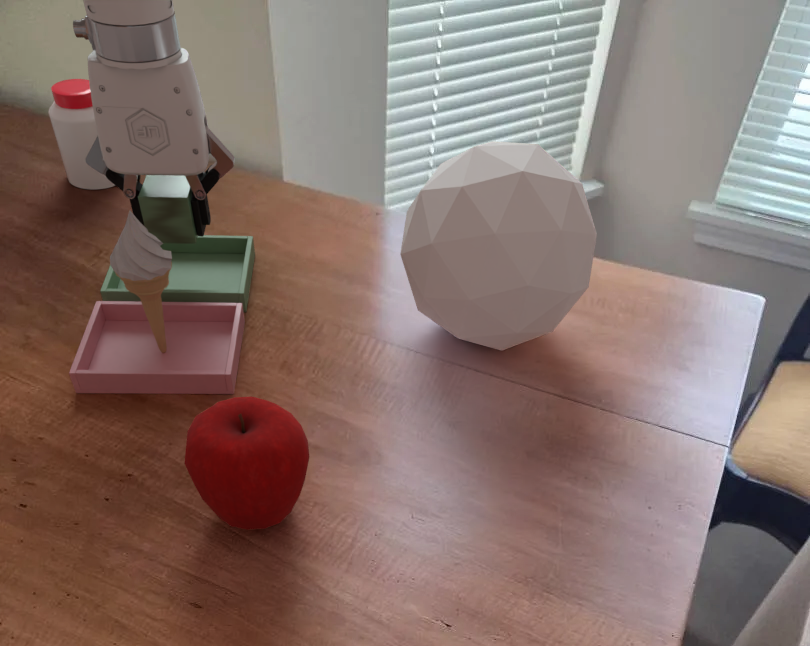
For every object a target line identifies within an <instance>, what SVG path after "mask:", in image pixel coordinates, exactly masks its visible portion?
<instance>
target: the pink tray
mask: <svg viewBox="0 0 810 646" xmlns="http://www.w3.org/2000/svg"><path fill="white" fill-rule="evenodd" d="M162 308H163V317H164V327H165V338H166V345H167V350H166V352H165V353H162V352H161V351H160V349H159V347H158V345H157V342H156V339H155V336H154V334H153V332H152V329H151V326H150V324H149V321H148V319H147V316H146V314H145V311H144V308H143V305H142V303H141V302H134V301H103V300H96V301H95V304H94V306H93V309H92V311H91V314H90V316H89V319H88V321H87V324H86V327H85V330H84V333H83V335H82V337H81V340H80V343H79V345H78V348H77V350H76V353H75V356H74V359H73V361H72V364H71V367H70V370H69V372H68V375H69V377H70V380H71V384H72V386H73V388H74V389H73V390H74V392H75V394H143V395H144V394H145V395H146V394H149V395H150V394H151V395H152V394H153V395H154V394H156V395H157V394H158V395H159V394H161V395H162V394H165V395H171V394H172V395H174V394H175V395H183V394H185V395H234V394H235V389H236V382H237V376H238V370H239V364H240V357H241V351H242V345H243V337H244V332H245V331H244V330H245V323H246V321H245V312H243V305H242V303H208V302H162Z"/></svg>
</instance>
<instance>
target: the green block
mask: <svg viewBox="0 0 810 646" xmlns="http://www.w3.org/2000/svg"><path fill="white" fill-rule="evenodd" d="M191 198H192V190H191V188H190V186H189V183H188V181H187V179H186V177H185V176H174V175H145V177H144V180H143V183H142V188H141V190H140V193H139V196H138V200H139V204H140V209H141V213H142V217H143V221H144V225H145V227H146V228H147V230H148V232H149V233H151V234H153V235H154V236H156V237H157V238H158V239H159V240H160V241H161V242H162V243H170V244H196V242H197V238H198V235H197V234H196V229H195V224H194V218H193V213H192V207H191Z"/></svg>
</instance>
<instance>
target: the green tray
mask: <svg viewBox="0 0 810 646" xmlns="http://www.w3.org/2000/svg"><path fill="white" fill-rule="evenodd" d="M254 241H255V240H254V236H253V235H215V234H214V235H213V234H208V235H207V234H204V236H198V238H197V242H196V244H170V243H163V244H162V245H160V247H161V248H162V249H163V250H167V251H171V254H172V260H171V261H172V268H171V270H170V271H169V277H168V279H169V284H168V286H167V287H166V288H165V289H164V290H163V291H162V293H161V300H162V302H208V303H242V305H243V312H244V313H247V310H248V304H249V299H250V292H251V291H250V290H251V285H252V277H253V272H254V265H255V258H256V252H255V242H254ZM100 296H101V299H102V301H134V302H141V300H140V298H139V297H138V296H137V295H136V294H134V293H131V292H129V291H128V290H127V289H126V287H125V284H124V282H123V281H122V280H121V278H119V277H118V276H117V275H116V273H115V271H114V270H113V269H112V267H111V265H110V264H109V267H108V270H107V272H106V275H105V277H104V279H103V282H102V285H101V287H100Z"/></svg>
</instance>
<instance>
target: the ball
mask: <svg viewBox="0 0 810 646" xmlns="http://www.w3.org/2000/svg"><path fill="white" fill-rule="evenodd" d="M405 214H406V215H405V221H404V228H403V235H402V241H401V247H400V248H401V249H400V255H399V256H400V258H401V262H402V264H403V268H404V270H405V274H406V278H407V280H408V284H409V287H410V291H411V293H412V296H413V299H414V302H415V303H414V304H415V305H416V309H417V311H418V312H420V313H421V314H422V315H424V316H425V317H427V318H428V319H429V320H431V321H432V322H434V323H435V324H437V325H438V326H439V327H441V328H443V329H444V330H445V331H446V332H448V333H450V334H451V335H452V336H454V337H456V339H458V340H463V341H465V342H470V343H473V344H476V345H481V346H484V347H487V348H491V349H495V350H499V351H501V352H502V351H504V350H507V349H510V348H513V347H516V346H517V345H521V344H524V343H526V342H529V341H533V340H534V339H536V338H539V337H542V336H544V335H547V334H550V333H553V332H554V331H555V330H556V328H557V327H558V326H559V324H560V323H561V322H562V321H563V319H564V318H565V317H566V316H567V315H568V314H569V312H570V311H571V310H572V308H574V307H575V305H576V304H577V302H578V301H579V300H581V298H582V296H583V295H584V294H585V293H586V291H587V290H588V289H589V287H590V282H591V274H592V268H593V263H594V257H595V250H596V244H597V238H598V233H597V229H596V227H595V223H594V220H593V216H592V212H591V210H590V206H589V202H588V199H587V196H586V192H585V187H584V184H583V182H581V181H580V180H579V179H578V178H577V177H576V176H574V174H572V173H571V172H570V171H569V170H568V169H567V168H565V167H564V166H563V165H562V164H561V162H559V161H558V160H557V159H555V157H554V156H552V155H551V154H550V153H549V152H547V151H546V150H545V149H544V148H543V147H542V146H541V145H540V144H538V143H528V142H526V143H525V142H524V143H523V142H510V141H496V140H495V141H489V142H485V143H481V144H477V145H474V146H472V147H470V148H468V149H466V150H465V151H462V152H460V153H458V154H457V155H454V156H453V157H451V158H449V159H447V160H445V161H443V162H441V163H440V164H439V165H438V166H437V168H436V169H435V170H434V172H433V173H432V174H431V176H430V177H429V178H428V180H427V181H426V182H425V184H424V185H423V186H422V188H420V190H419V192H418V194H416V196H415V198H414V199H413V201H412V203H411V204H410V206H409V207H408V208H407V210H406V213H405Z"/></svg>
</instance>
